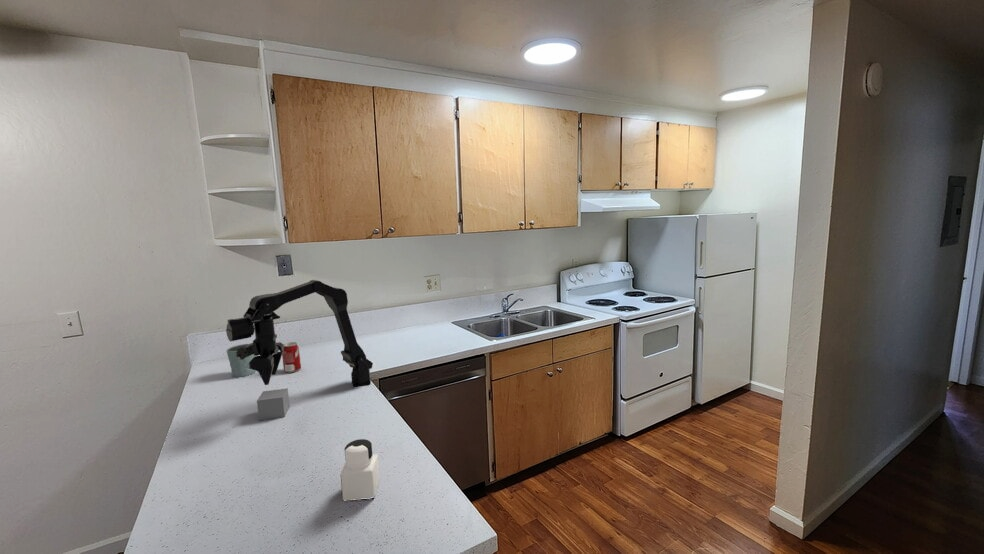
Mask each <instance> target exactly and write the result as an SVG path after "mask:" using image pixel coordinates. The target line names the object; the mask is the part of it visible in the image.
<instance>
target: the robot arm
mask: <svg viewBox="0 0 984 554" xmlns="http://www.w3.org/2000/svg"><path fill="white" fill-rule="evenodd" d="M315 293H316V294H317V295H319V296H321V297H324V300H325V302H326V304H327V305H328V307H329V308H330V309H331V311H332V312H333V314H334V317H335V321H336V323H337V326H338V331H339V332H340V333H339V334H340V336H341V339H342V342H343V345H344V347H343V350H341V351H340V354H341V356H342V361H343V362H345V363H346V364H347V365H349V367H350V368H351V369H352V370H351V372H350V377H351V384H352V386H353V387H360V386H367V385H368V386H370V385H371V383H372V382H371V381H372V378H371V372H370V371H371V369H373V364H374V363H373V362H372V361H371V360H369V359H368V358H367V355H366V354H365V352H364V349H362V347H361V346H360V345H359V343H358V342H357V338H356V334H355V332H354V328H353V326H352V322H351V319H350V316H349V313H348V304H349V302H348V301H349V300H348V295H347V291H346V290H344V289H343V288H340V287H333V286H331V285H328V284H326V283H324V282H322V281H321V280H318V279H311V280H309V281H307V282H304V283H301V284H299V285H296V286H294V287H290V288H287V289H284V290H281V291H279V292H274V293H266V294H260V295H256V296H253V297H252V298H251V299H250V301H249V307H247V308H248V309H247V310H246V311H245V313H244V314H243V317H239V318H230V319H227V320H226V322H227V324H226V329H225V332H226V336H227V339H228V341H229V342H235V341H241V340H245V339H249V338H251V337H252V336H254V337H255V338H254V339H253V341H252V342H251V343H247V344H248V345H246V346H242V347H241V348H240V347H239V348H238V349H237V351H236V353H237V355H236V356H237V357H239V358H240V359H241V360H243V359H245V358H246V357H248V356H250V355H253V354H254V358H253V359H252V360H251V361H250V362H249V368H250V369H252V370H256V372H257V373H258V375H259V376H260V378H261V380H262V382H263V384H264V385H265V386H269V384H270V381H271V378H272V376H274V375H275V376H276V374H277V371H278V368H279V365H280V362H281V359H282V354H283V350H284V345H283V344H284V343H282V342H281V341H280V342H277V341H276V339H277V338H278V335H277V333H275V332H276V331H275V323H274V320H278V319H281V316H280V315H278V314H276V312H275V311H277V310H278V309H280V308H281V307H282V306H283V305H285V304H288V303H290V302H293V301H296V300H298V299H301V298H303V297H307V296H308V295H309V296H310V295H311V294H315Z"/></svg>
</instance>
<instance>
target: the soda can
mask: <svg viewBox="0 0 984 554" xmlns="http://www.w3.org/2000/svg"><path fill="white" fill-rule="evenodd" d="M282 344H283V345H284V350H283V354H282V357H281V359H282V366H283V372H284V373H288V374H292V372H293V373H297V372H299V371H298V370H301V369H302V364H301V355H300V346H299V344H298V342H296V341H295V342H294V341H291V342H290V341H289V342H285V343H282ZM296 371H297V372H296Z"/></svg>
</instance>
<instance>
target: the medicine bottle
mask: <svg viewBox="0 0 984 554" xmlns="http://www.w3.org/2000/svg"><path fill="white" fill-rule="evenodd" d="M372 444H373V443H372V442H371V441H370V440H369V439H366V438H360V439H356V440H352V441H350V442H349V443H347V444H346V445H345V447H344V457H345V458H344V459H345V463H344V465H343V468H342V469H341V471H340V483H341V484H340V485H341V494H342V501H343V500H351V499H352V500H353V499H361V498H370V497H374V496H375V497H376V495H375V493H376V494H377V492H376V490H377V491H378V488H377V486H378V487H379V485H378V483H379V484H380V481H379V479H380V480H381V478H380V467H379V454H377V453H375V454H374V453H373V445H372Z"/></svg>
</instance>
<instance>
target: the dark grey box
mask: <svg viewBox="0 0 984 554" xmlns="http://www.w3.org/2000/svg"><path fill="white" fill-rule="evenodd" d="M256 404H257V414H258V415H257V416H258V421H264V420H271V419H279V418H285V417H286V415H287V413H288V411H289V410H290V407H291V406H290V397H289V389H288V388H279V389H271V390H264V391H262V392H261V393H260V396H259V397H258V398H257V399H256Z"/></svg>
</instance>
